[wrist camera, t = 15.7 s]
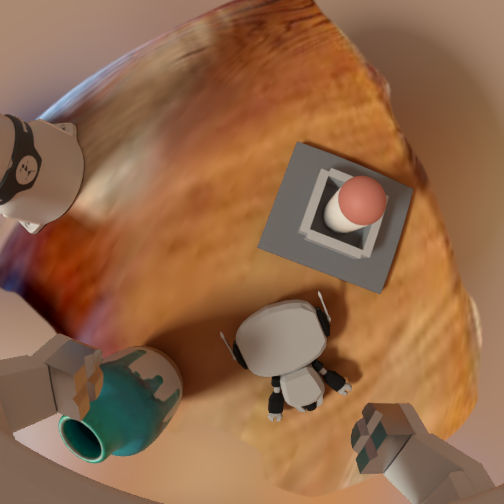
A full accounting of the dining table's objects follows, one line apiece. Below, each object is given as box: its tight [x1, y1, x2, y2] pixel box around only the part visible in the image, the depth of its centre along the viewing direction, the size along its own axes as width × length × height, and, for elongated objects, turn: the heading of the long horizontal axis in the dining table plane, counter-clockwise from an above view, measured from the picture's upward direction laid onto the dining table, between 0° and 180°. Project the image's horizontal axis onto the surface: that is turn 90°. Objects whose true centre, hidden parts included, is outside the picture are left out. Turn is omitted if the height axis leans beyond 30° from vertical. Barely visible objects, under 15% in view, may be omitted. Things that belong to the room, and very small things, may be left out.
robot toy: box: [220, 291, 352, 421], centre depth 36 cm, size 12×4×15 cm
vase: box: [59, 346, 183, 463], centre depth 29 cm, size 11×11×19 cm
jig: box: [257, 142, 413, 294], centre depth 35 cm, size 16×14×4 cm
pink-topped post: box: [322, 176, 386, 234], centre depth 30 cm, size 4×4×12 cm
